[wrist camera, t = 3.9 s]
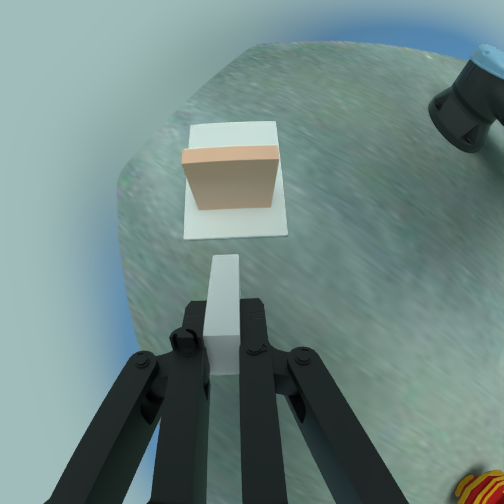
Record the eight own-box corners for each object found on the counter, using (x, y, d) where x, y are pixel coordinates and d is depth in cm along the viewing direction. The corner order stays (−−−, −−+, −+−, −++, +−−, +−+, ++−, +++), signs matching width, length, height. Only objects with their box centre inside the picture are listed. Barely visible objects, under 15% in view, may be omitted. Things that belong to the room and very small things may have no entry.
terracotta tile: (270, 207, 40) (279, 159, 28) (198, 210, 40) (181, 163, 28) (269, 194, 41) (277, 143, 29) (199, 197, 40) (182, 148, 29)
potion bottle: (479, 490, 26) (523, 510, 12) (441, 515, 25) (483, 544, 11) (486, 452, 29) (537, 469, 14) (447, 478, 28) (497, 505, 14)
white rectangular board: (287, 236, 40) (287, 235, 39) (184, 240, 39) (183, 239, 39) (275, 123, 45) (275, 121, 44) (191, 127, 45) (190, 125, 44)
